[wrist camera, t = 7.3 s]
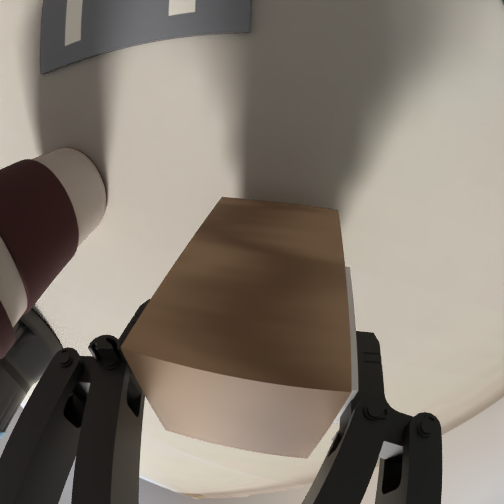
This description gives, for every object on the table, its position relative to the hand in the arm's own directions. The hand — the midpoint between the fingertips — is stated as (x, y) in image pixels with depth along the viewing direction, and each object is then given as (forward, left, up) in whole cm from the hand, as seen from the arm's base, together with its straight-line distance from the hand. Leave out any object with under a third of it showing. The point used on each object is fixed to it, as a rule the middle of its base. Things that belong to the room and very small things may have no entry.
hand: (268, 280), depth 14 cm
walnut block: (0, 0, -2) cm, 2 cm away
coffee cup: (-16, +2, -5) cm, 17 cm away
